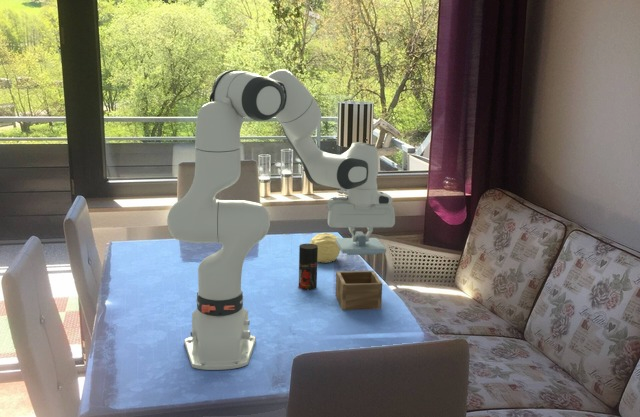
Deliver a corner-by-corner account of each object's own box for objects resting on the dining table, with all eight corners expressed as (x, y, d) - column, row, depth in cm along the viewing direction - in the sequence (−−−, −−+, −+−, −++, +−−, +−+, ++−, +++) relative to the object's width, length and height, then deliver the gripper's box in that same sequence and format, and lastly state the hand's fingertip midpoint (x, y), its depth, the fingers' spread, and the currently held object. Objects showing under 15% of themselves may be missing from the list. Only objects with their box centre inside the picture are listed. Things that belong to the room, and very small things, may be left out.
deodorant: (320, 289, 211) (321, 246, 207) (307, 294, 206) (308, 250, 203) (307, 285, 215) (308, 242, 211) (294, 289, 210) (295, 245, 207)
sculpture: (313, 266, 234) (313, 237, 231) (305, 256, 245) (306, 229, 242) (343, 264, 236) (344, 236, 234) (334, 254, 248) (335, 227, 245)
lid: (385, 256, 189) (386, 239, 188) (342, 256, 187) (343, 239, 186) (376, 244, 202) (376, 228, 201) (335, 244, 200) (335, 228, 199)
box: (380, 311, 194) (382, 283, 192) (342, 313, 192) (343, 284, 190) (372, 297, 206) (373, 270, 204) (335, 298, 204) (336, 271, 202)
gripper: (329, 198, 186) (327, 244, 189) (397, 198, 189) (395, 243, 192) (326, 194, 192) (324, 238, 195) (392, 194, 195) (390, 238, 198)
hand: (360, 241), depth 194 cm, fingers closed on lid
